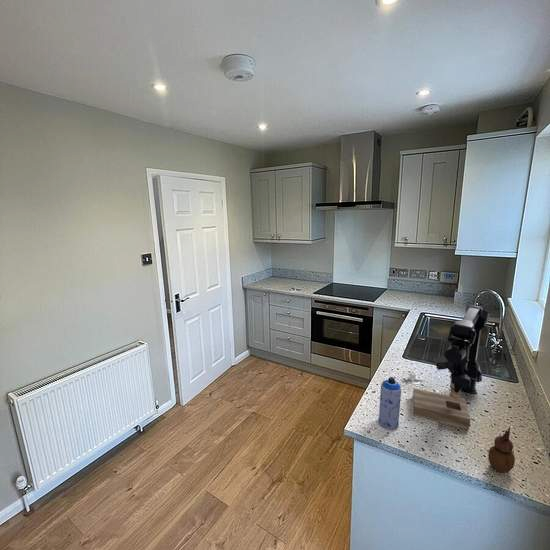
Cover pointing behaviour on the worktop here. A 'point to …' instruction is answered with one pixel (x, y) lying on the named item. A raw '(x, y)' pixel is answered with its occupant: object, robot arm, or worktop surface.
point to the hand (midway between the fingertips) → (455, 389)
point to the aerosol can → (389, 404)
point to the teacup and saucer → (414, 377)
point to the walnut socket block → (440, 408)
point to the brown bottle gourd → (502, 453)
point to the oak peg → (453, 393)
